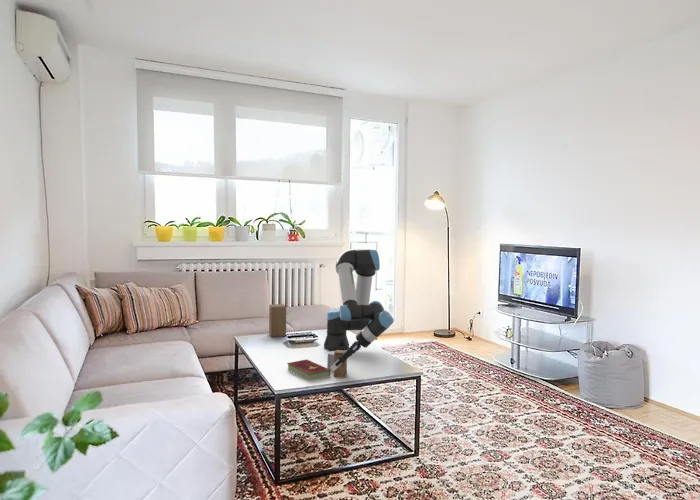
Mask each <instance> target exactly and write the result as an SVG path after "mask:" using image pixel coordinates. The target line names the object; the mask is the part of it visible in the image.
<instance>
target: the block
mask: <svg viewBox="0 0 700 500" xmlns="http://www.w3.org/2000/svg"><path fill="white" fill-rule="evenodd" d="M268 309H269V310H268V317H269V318H268V333H269V336H270V337H271V338H279V337H280V338H281V337H286V336H287V306H286V305H285V304H284V303H280V304H279V303H277V304H273V303H272V304H269V307H268Z"/></svg>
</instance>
